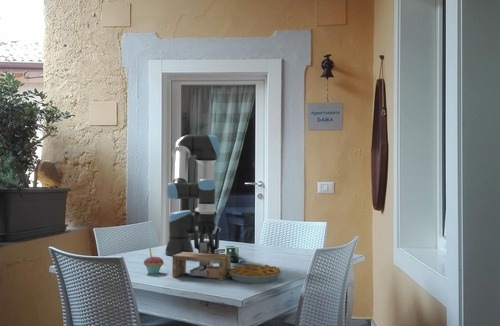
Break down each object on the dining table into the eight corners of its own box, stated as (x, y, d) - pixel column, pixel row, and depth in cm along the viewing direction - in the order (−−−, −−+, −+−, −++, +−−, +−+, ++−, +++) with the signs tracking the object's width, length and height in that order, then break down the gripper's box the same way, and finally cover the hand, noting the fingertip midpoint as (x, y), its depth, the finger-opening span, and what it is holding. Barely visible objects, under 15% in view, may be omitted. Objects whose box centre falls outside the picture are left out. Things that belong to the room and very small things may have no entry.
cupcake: (144, 275, 229) (144, 247, 230) (143, 271, 238) (143, 244, 238) (164, 274, 232) (164, 246, 232) (162, 270, 240) (162, 243, 240)
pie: (251, 271, 239) (251, 260, 239) (291, 278, 225) (291, 266, 225) (218, 279, 222) (218, 267, 222) (258, 287, 208) (259, 274, 208)
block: (208, 275, 231) (208, 266, 231) (221, 275, 230) (222, 266, 230) (205, 278, 225) (205, 268, 225) (219, 278, 224) (219, 268, 225)
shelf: (182, 272, 236) (182, 251, 236) (230, 275, 230) (230, 254, 230) (172, 276, 226) (172, 255, 226) (222, 280, 219) (222, 258, 219)
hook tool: (205, 266, 245) (206, 240, 245) (223, 267, 242) (224, 241, 242) (187, 275, 224) (188, 246, 225) (207, 276, 222) (207, 247, 222)
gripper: (186, 213, 239) (186, 265, 239) (221, 214, 235) (220, 267, 234) (193, 211, 247) (192, 262, 246) (226, 213, 242) (226, 264, 242)
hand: (206, 264), depth 240 cm, fingers closed on hook tool, 3 cm apart
